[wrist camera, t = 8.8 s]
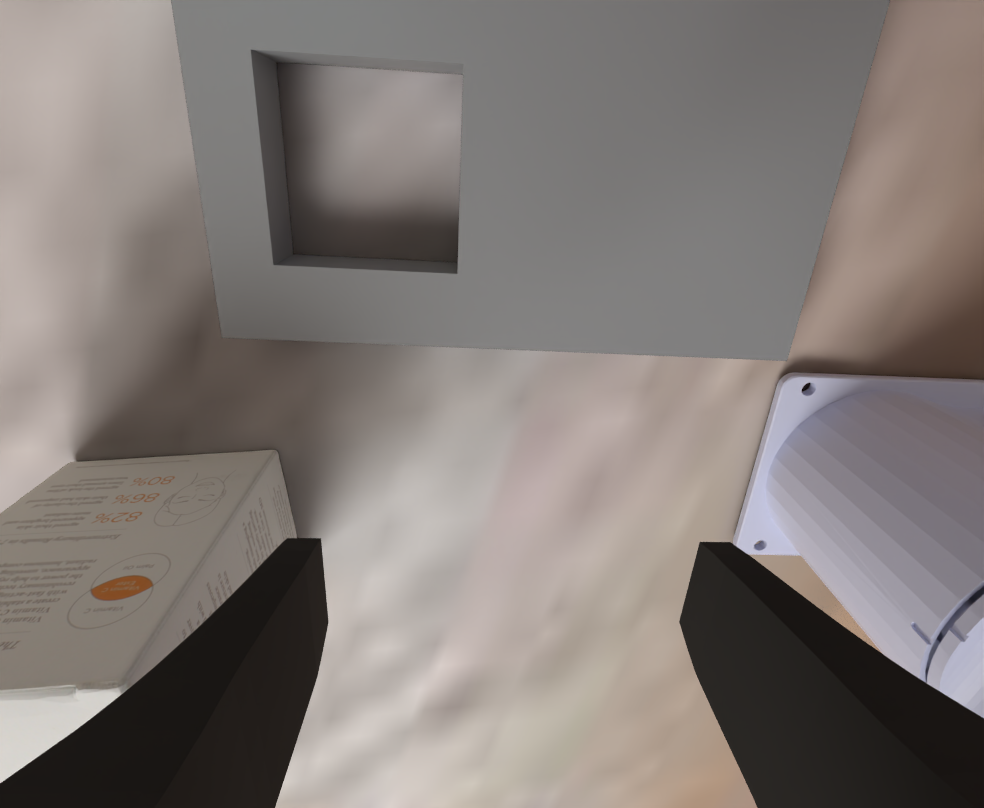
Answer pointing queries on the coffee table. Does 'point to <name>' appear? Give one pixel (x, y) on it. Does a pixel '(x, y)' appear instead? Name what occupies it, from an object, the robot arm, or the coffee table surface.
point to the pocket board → (548, 169)
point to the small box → (120, 578)
